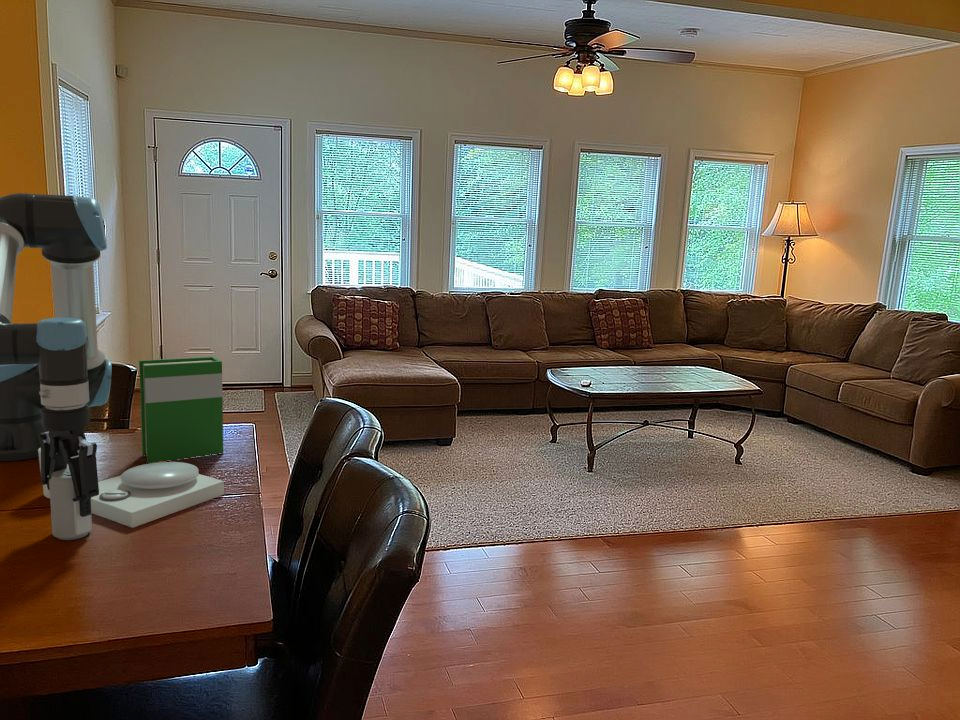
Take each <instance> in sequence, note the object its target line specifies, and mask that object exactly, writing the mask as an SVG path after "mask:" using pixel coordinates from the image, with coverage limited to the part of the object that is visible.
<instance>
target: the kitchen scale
mask: <svg viewBox="0 0 960 720" xmlns="http://www.w3.org/2000/svg"><path fill="white" fill-rule="evenodd" d="M199 470H200V469H199V468H198V467H197V466H196V465H194V464H191V463H187V462H182V461H169V462H157V463H149V464H147V463H146V464H145V463H144V464H141V465H137V466H133V467H131V468H128V469H127V470H125V471H123V472H122V474H121V475H117V476H114V477H111V478H106V479H104V480H100V481H98V485H99V495H97V496H94V497H91V514H94V515H95V516H99V517H102V518H105V519H106V520H110V521H113V522H115V523H118V524H121V525H123V526H127V527H129V528H131V529H133V528H136V527H138V526H142V525H144V524H147V523H149V522H152V521H155V520H157V519H160V518H163V517H166V516H169V515H171V514H174V513H177V512H180V511H183V510H185V509H188V508H191V507H194V506H196V505H199V504H202V503H204V502H207V501H210V500H212V499H215V498H218V497H220V496H223V495H225V482H224V480H220V479H217V478H215V477H211V476H207V475H204V474H200V473H199Z"/></svg>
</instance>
